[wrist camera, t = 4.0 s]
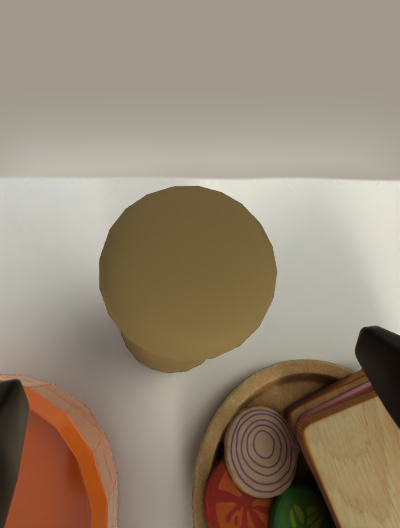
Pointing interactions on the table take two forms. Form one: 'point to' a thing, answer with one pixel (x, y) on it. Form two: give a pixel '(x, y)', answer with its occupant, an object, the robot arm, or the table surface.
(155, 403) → the table surface
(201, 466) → the toy sandwich meal
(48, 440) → the pan
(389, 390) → the robot arm
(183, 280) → the cork
